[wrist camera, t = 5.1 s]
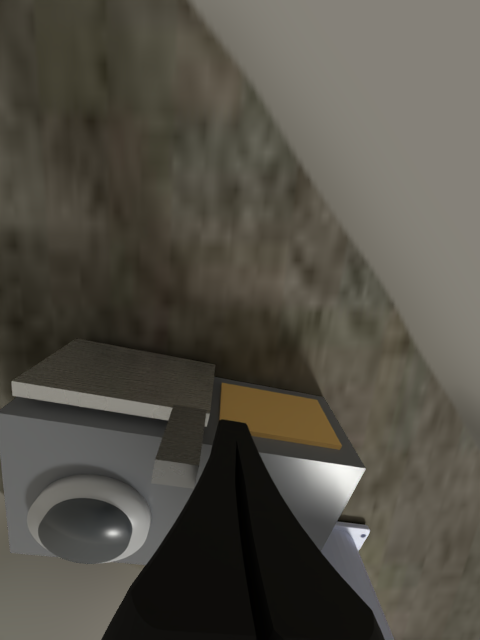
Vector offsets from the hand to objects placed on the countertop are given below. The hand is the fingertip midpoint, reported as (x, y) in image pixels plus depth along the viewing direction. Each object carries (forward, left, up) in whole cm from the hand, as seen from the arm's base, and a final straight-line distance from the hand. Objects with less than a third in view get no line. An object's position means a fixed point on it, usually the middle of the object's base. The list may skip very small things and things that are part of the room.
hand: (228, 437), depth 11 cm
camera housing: (-6, +1, -6) cm, 9 cm away
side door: (0, +5, -6) cm, 8 cm away
